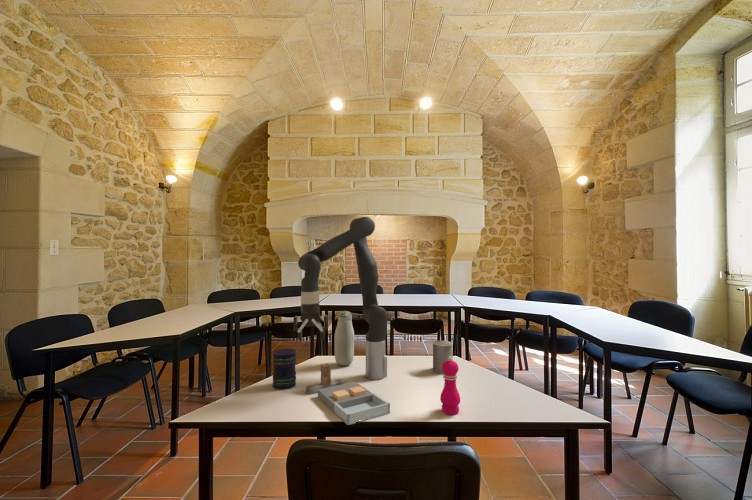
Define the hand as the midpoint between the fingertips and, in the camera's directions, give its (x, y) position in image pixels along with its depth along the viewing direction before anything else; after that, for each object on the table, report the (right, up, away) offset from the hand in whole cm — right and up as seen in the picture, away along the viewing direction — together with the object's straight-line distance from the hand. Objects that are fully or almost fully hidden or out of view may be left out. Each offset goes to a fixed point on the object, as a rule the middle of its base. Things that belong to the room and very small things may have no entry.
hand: (311, 340), depth 145 cm
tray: (+22, -21, -19) cm, 36 cm away
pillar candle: (+60, -22, +27) cm, 69 cm away
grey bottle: (+11, -22, +35) cm, 43 cm away
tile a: (+20, -18, -9) cm, 28 cm away
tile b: (+14, -18, -12) cm, 26 cm away
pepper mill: (+54, -21, -18) cm, 61 cm away
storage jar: (-13, -22, +7) cm, 26 cm away
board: (+15, -21, -8) cm, 27 cm away
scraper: (+6, -22, +3) cm, 23 cm away
